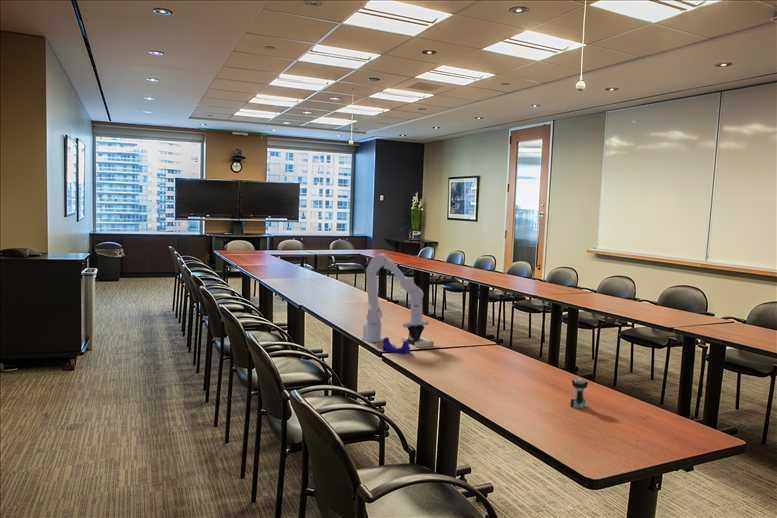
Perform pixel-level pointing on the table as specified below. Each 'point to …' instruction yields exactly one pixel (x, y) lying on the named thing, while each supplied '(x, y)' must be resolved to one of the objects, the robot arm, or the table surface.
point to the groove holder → (420, 342)
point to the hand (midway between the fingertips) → (415, 340)
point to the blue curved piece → (389, 348)
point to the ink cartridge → (414, 338)
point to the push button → (579, 393)
